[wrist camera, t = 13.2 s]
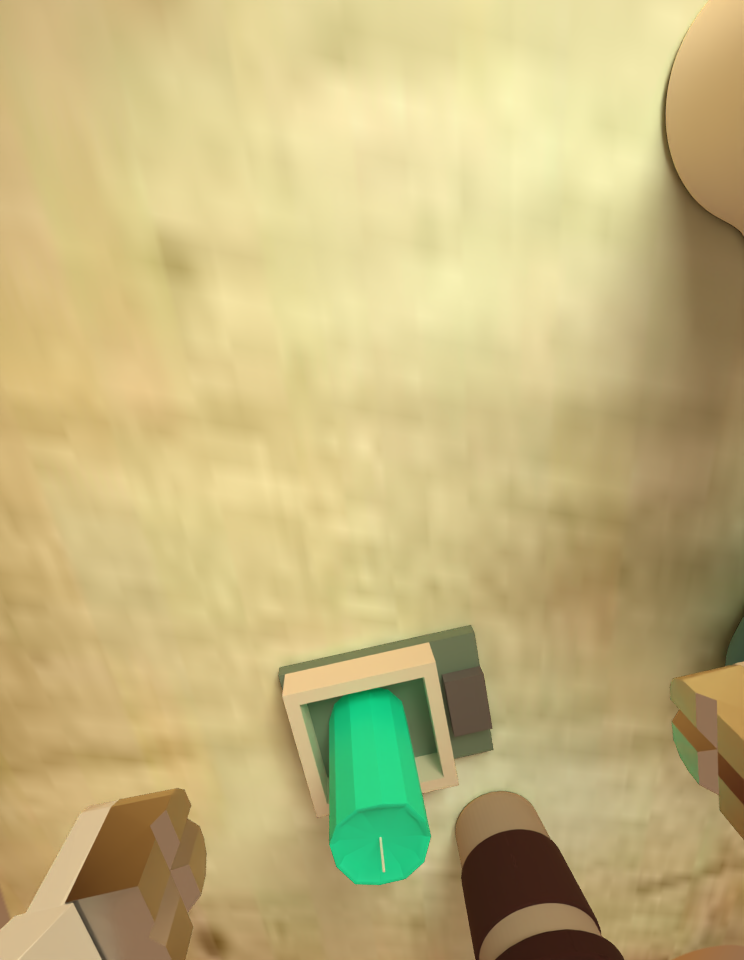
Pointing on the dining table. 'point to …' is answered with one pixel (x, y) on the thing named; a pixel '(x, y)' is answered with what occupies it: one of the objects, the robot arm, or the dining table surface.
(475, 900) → the coffee cup
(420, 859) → the candle
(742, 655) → the casserole dish
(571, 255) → the dining table surface
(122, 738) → the dining table surface
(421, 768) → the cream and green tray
